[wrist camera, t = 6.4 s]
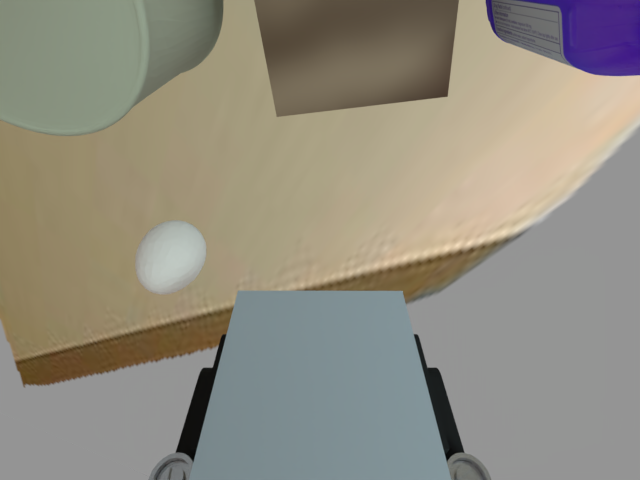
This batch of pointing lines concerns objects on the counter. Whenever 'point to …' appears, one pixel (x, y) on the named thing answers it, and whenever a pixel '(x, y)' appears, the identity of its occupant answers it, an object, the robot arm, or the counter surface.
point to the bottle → (573, 32)
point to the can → (95, 57)
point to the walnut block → (356, 52)
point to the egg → (170, 257)
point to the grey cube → (320, 392)
